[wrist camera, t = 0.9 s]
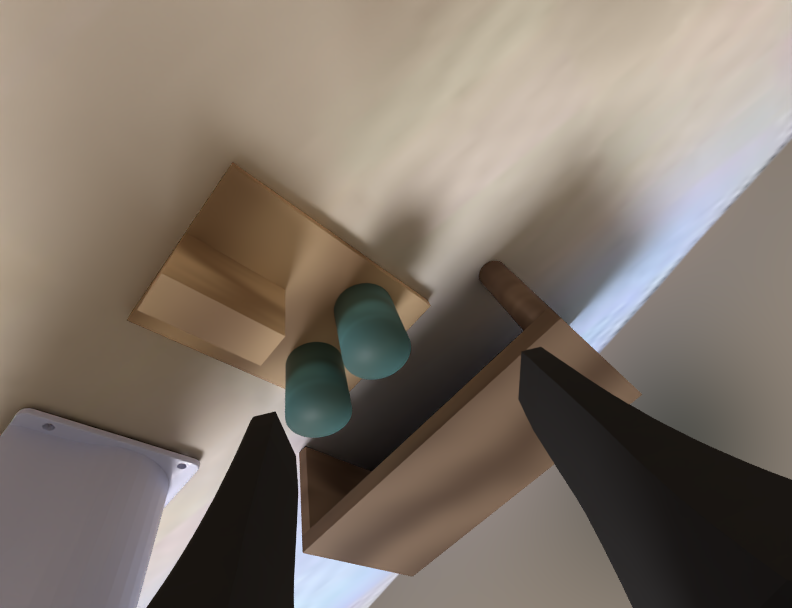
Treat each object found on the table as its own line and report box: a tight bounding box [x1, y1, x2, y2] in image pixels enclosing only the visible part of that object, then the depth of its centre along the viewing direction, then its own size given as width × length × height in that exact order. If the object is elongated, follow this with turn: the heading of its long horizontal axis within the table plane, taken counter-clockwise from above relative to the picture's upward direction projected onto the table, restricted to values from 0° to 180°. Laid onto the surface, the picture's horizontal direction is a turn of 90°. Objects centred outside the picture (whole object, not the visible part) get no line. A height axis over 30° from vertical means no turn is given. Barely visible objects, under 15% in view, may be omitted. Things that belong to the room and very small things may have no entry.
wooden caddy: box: [299, 261, 642, 576], centre depth 24 cm, size 8×18×6 cm, turn 137°
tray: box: [127, 163, 431, 438], centre depth 19 cm, size 12×9×5 cm
